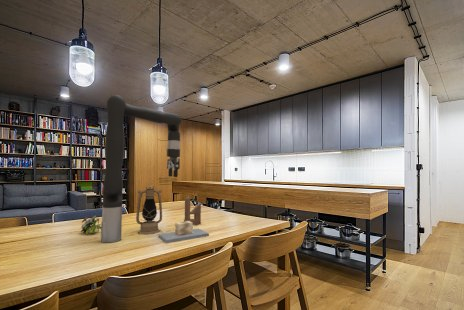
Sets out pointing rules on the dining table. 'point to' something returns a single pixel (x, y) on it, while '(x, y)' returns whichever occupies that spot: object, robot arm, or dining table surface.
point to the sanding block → (183, 228)
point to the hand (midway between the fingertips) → (172, 176)
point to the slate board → (182, 236)
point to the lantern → (149, 211)
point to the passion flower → (87, 227)
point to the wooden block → (192, 212)
